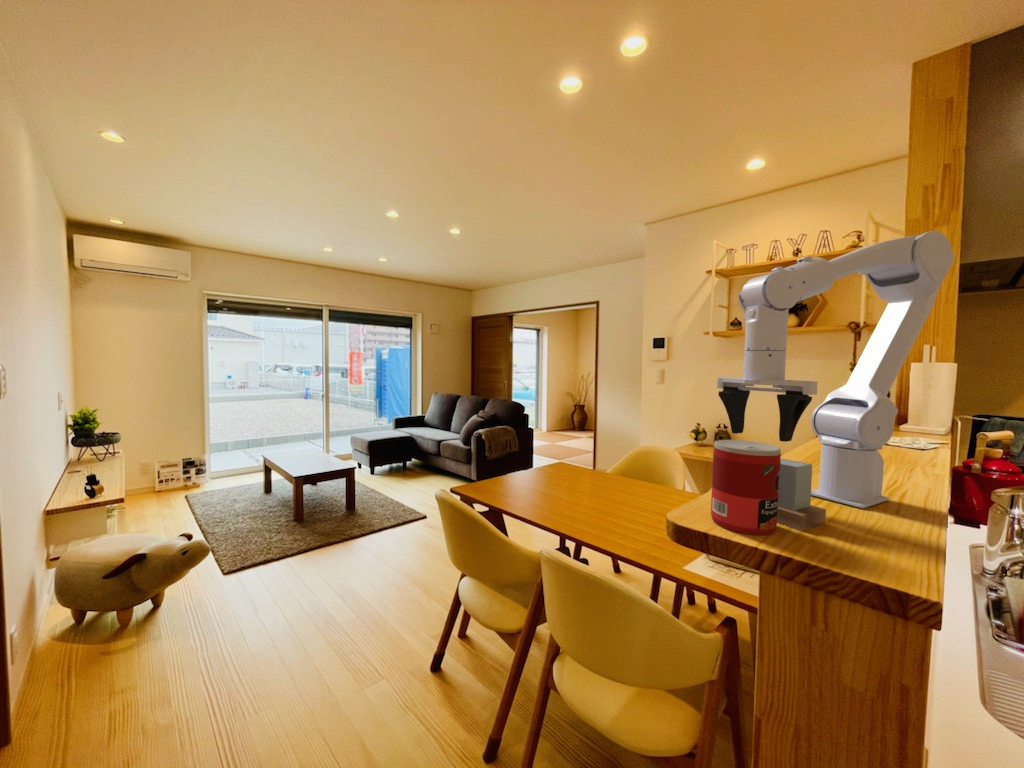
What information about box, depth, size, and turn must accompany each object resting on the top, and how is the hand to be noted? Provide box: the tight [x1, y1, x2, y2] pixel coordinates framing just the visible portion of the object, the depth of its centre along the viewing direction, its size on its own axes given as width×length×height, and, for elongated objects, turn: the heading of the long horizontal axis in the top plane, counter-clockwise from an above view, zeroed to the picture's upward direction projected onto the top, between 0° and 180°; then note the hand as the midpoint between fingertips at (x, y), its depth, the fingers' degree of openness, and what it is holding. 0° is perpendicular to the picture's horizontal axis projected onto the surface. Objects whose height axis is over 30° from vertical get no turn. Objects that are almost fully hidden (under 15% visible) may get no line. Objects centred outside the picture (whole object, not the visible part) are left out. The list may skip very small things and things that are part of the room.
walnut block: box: [777, 504, 827, 532], centre depth 60 cm, size 6×6×2 cm
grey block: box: [778, 458, 813, 511], centre depth 60 cm, size 4×4×6 cm
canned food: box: [710, 439, 782, 536], centre depth 58 cm, size 8×8×11 cm
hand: (760, 436), depth 68 cm, fingers open, 7 cm apart
